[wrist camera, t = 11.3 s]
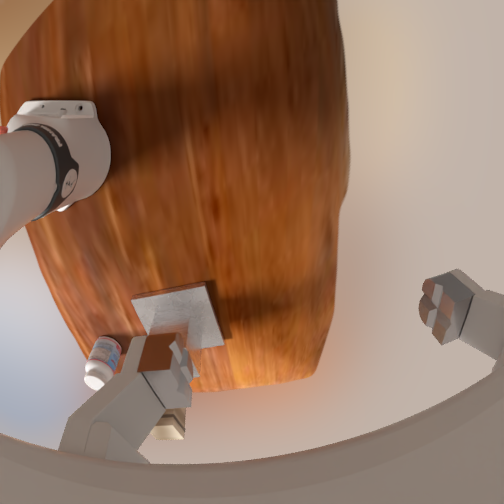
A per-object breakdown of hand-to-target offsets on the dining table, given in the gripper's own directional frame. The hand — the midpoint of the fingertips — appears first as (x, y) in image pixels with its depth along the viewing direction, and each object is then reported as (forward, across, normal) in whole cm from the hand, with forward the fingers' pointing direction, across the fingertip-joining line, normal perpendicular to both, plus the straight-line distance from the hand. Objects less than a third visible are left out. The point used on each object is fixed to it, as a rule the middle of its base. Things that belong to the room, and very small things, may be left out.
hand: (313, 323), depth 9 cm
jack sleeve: (+36, +17, +26) cm, 47 cm away
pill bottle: (+36, +35, +30) cm, 59 cm away
